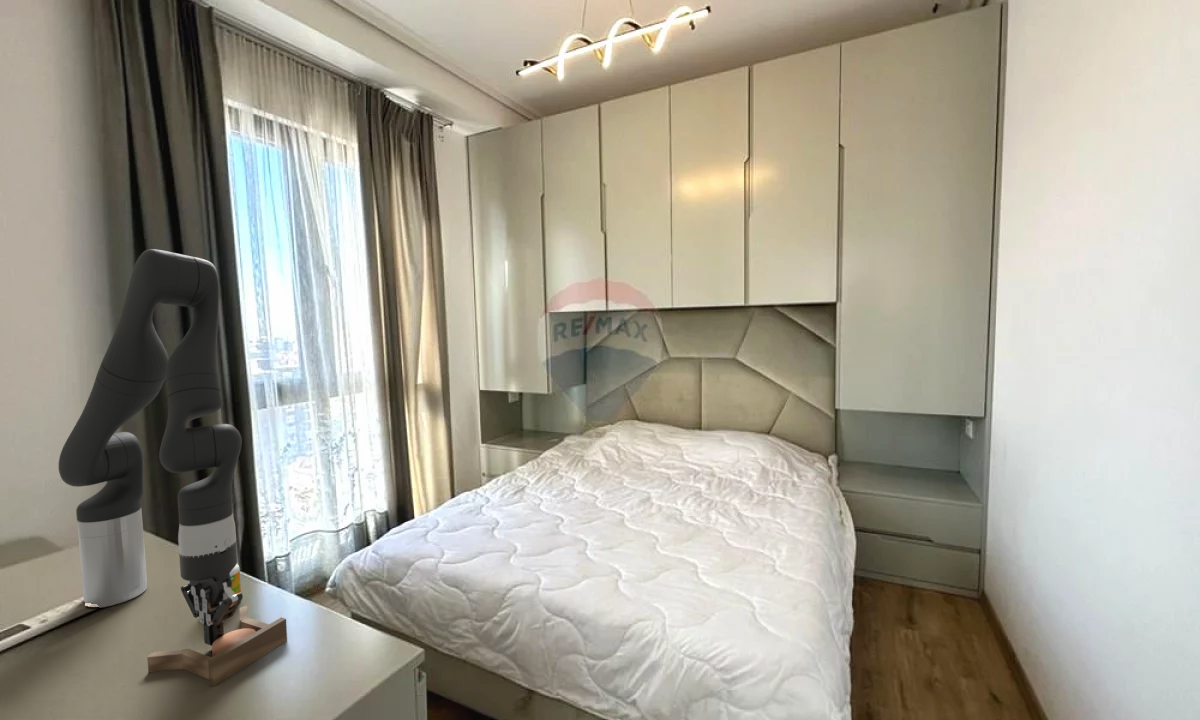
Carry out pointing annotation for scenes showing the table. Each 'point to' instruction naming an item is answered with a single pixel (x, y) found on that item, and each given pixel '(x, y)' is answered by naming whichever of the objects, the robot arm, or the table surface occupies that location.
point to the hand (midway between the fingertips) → (214, 642)
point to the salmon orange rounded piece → (230, 639)
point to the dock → (224, 652)
